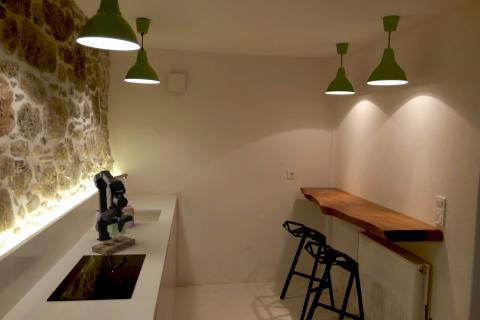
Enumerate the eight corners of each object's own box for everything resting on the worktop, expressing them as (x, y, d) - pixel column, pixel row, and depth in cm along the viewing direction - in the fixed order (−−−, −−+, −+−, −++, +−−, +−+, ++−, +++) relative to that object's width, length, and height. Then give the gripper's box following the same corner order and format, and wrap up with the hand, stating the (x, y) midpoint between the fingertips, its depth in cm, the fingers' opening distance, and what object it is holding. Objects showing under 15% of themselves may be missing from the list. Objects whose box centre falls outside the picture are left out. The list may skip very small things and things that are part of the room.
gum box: (133, 223, 240) (132, 204, 238) (136, 226, 233) (135, 207, 232) (96, 230, 227) (95, 210, 225) (99, 233, 220) (98, 212, 219)
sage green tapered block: (108, 237, 184) (107, 225, 184) (122, 231, 193) (122, 220, 192) (112, 238, 183) (111, 226, 182) (127, 233, 191) (126, 221, 190)
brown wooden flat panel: (92, 251, 189) (91, 246, 189) (120, 240, 206) (120, 235, 206) (106, 255, 183) (106, 250, 183) (135, 243, 201) (135, 238, 200)
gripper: (92, 204, 183) (93, 233, 185) (116, 209, 174) (117, 239, 176) (109, 200, 193) (110, 227, 195) (133, 204, 184) (134, 232, 186)
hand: (117, 231), depth 188 cm, fingers closed on sage green tapered block, 3 cm apart
